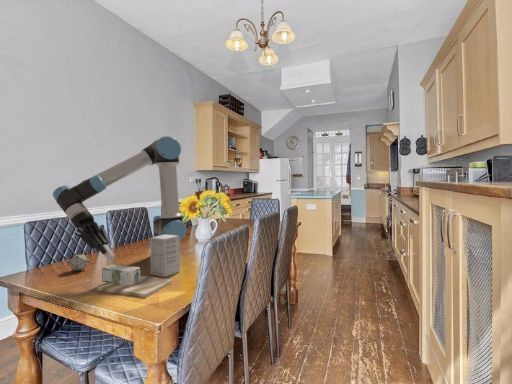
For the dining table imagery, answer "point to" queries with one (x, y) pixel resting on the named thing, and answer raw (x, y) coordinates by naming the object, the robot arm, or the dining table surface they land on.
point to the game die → (78, 262)
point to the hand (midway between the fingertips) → (112, 258)
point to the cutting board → (137, 287)
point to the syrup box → (121, 274)
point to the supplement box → (165, 255)
